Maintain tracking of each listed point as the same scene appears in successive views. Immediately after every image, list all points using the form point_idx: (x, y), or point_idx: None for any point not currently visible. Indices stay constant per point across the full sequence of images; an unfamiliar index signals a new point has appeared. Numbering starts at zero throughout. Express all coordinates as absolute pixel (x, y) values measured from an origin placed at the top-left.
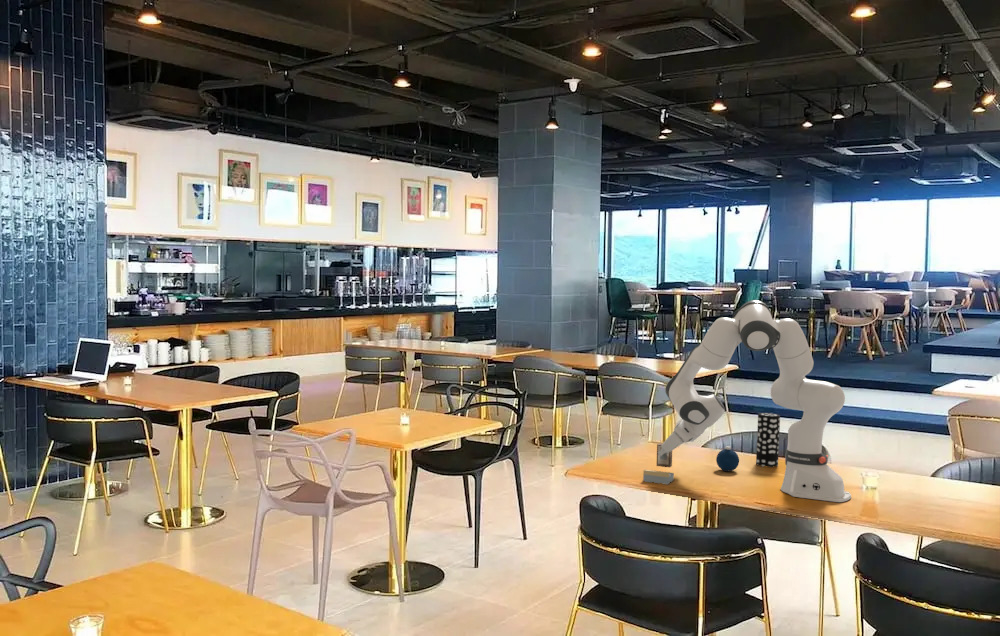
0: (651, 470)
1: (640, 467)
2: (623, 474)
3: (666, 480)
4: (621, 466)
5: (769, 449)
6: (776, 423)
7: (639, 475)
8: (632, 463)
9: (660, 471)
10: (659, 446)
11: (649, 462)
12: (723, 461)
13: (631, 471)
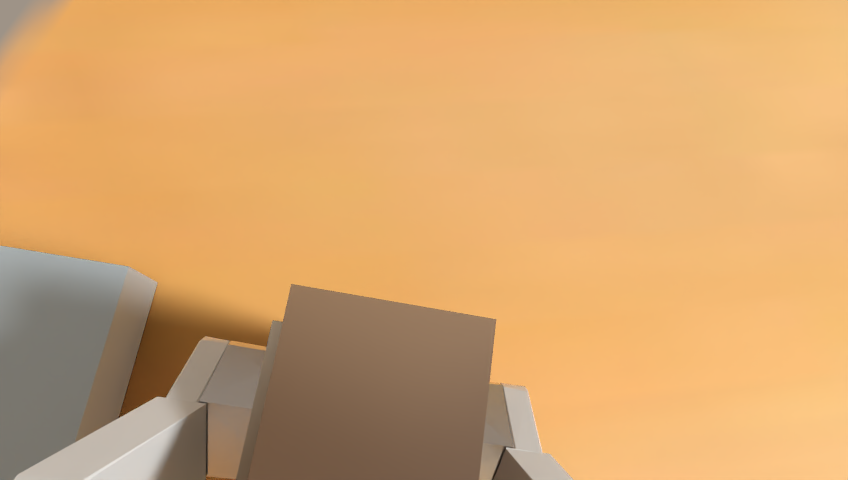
0: (111, 295)
1: (566, 171)
2: (196, 43)
3: None
4: (527, 17)
5: None
6: None
7: (201, 185)
8: (690, 97)
9: (81, 416)
10: (270, 353)
11: (813, 235)
12: None
13: (358, 104)
